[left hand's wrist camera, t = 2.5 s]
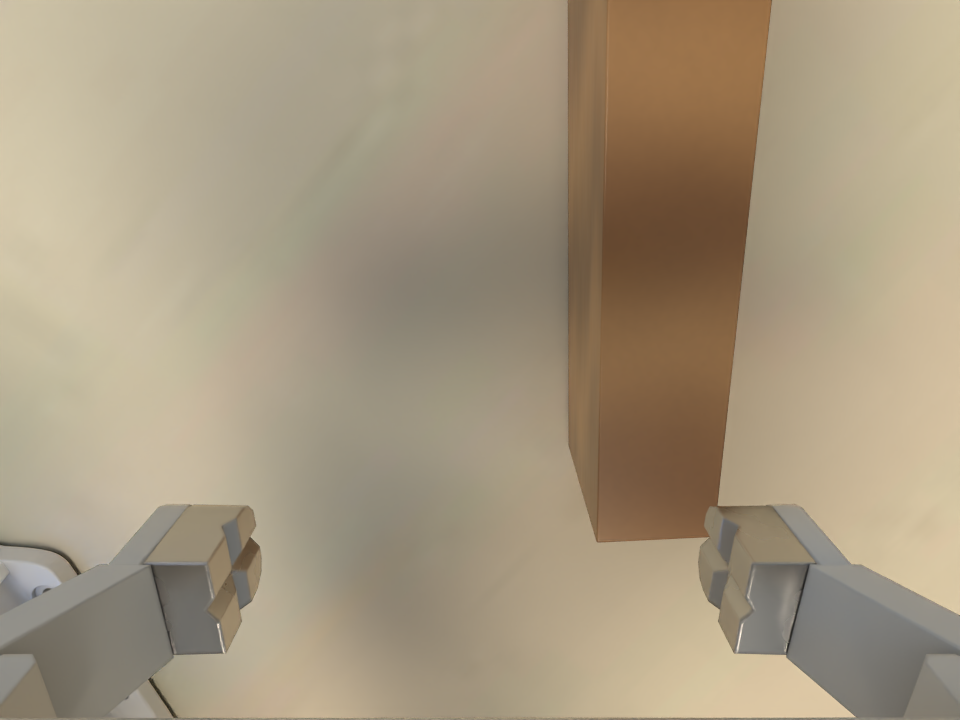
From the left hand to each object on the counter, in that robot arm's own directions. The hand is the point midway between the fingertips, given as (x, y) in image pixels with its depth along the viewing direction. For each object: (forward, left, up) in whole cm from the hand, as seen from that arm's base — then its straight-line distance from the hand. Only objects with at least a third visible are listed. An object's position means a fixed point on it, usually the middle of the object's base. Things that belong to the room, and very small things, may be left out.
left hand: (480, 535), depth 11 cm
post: (+27, -19, -17) cm, 37 cm away
